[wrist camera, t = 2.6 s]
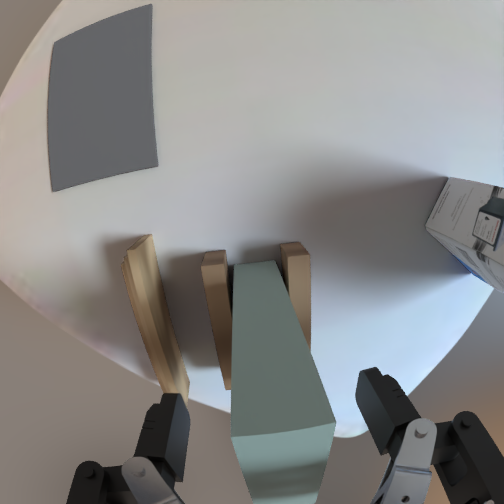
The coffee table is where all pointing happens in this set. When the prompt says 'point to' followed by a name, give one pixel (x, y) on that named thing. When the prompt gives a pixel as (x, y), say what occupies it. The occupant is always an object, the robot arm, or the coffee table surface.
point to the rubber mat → (102, 101)
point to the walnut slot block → (222, 303)
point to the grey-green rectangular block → (275, 393)
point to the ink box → (472, 227)
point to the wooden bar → (154, 316)
